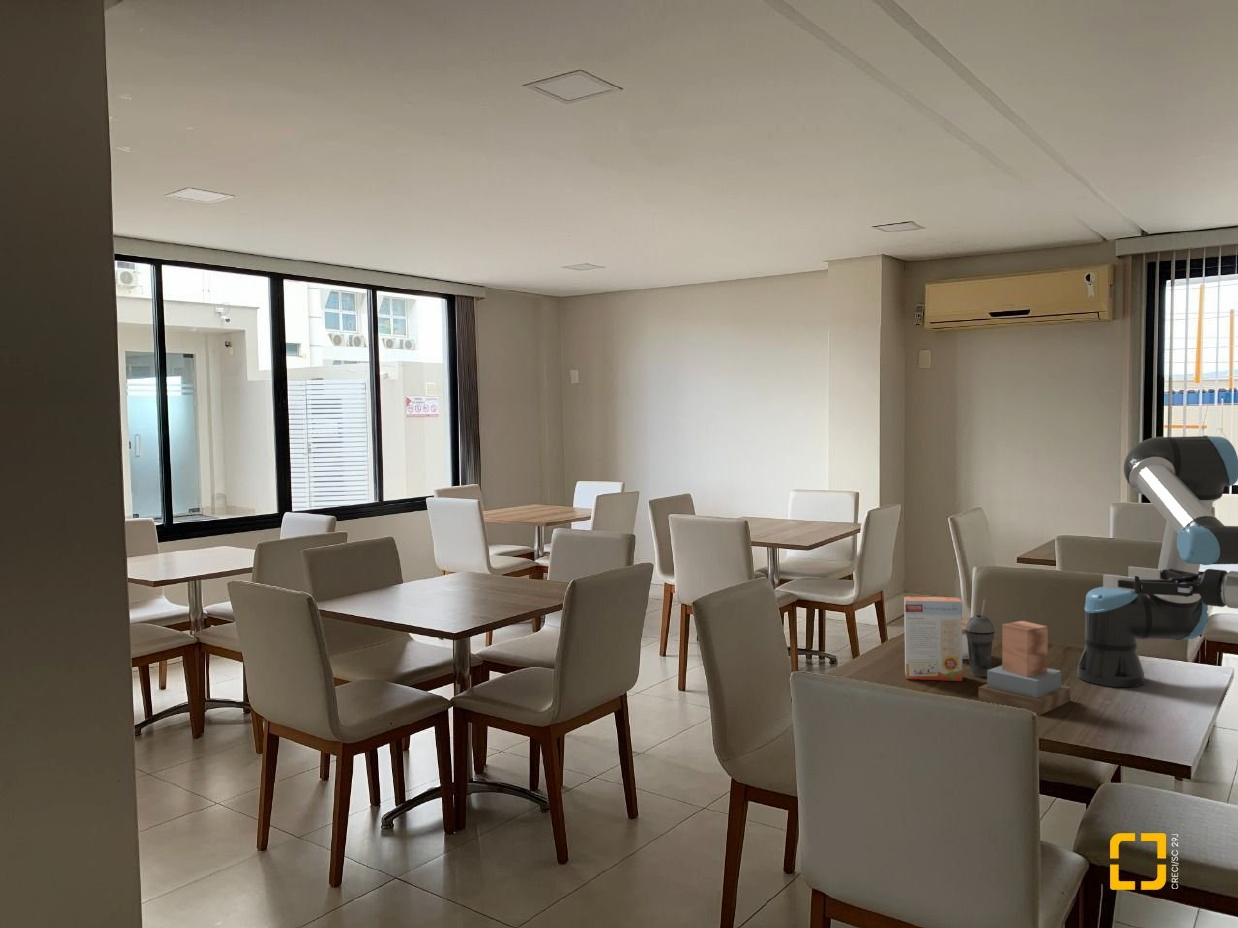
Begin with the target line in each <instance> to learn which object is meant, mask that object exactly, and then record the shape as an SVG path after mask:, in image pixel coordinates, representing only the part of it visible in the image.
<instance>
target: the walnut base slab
mask: <svg viewBox="0 0 1238 928" xmlns="http://www.w3.org/2000/svg"><path fill="white" fill-rule="evenodd" d="M979 700H981V701H980V702H982V701H986V702H992V703H996V704H1001V705H1007V706H1012V707H1017V708H1026V709H1028V710H1032V711H1033V712H1036V713H1037V714H1040V715H1039V716H1043V715H1044V714H1043V713H1045V714H1047V713H1049V712H1051V711H1053V710H1054V708H1055V709H1056V708H1059V707H1061V706H1063V705H1065V704H1067V703H1069V702H1070V701H1071V687H1070V686H1065V685H1061V688H1059V689H1056V690H1054V691H1052V692H1050V693H1048V694H1045V695H1043V696H1041V697H1039V698H1033V697H1028V696H1024V695H1020V694H1015V693H1011V692H1007V691H1002V690H998V689H993V688H989V687H987V683H986V684H983V685H981V686H978V701H979ZM986 702H985V703H986ZM1052 709H1053V710H1052ZM1050 710H1051V711H1050ZM1048 711H1049V712H1048ZM1046 712H1047V713H1046ZM1037 714H1036V715H1037ZM1042 714H1043V715H1042Z"/></svg>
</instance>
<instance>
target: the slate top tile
mask: <svg viewBox="0 0 1238 928" xmlns="http://www.w3.org/2000/svg"><path fill="white" fill-rule="evenodd" d="M986 684H987V687H989V688H993V689H998V690H1002V691H1007V692H1011V693H1015V694H1020V695H1024V696H1028V697H1033V698H1039V697H1041V696H1043V695H1045V694H1048V693H1050V692H1052V691H1054V690H1056V689H1059V688H1061V686H1062V670H1061V669H1060V670H1059V669H1054V668H1050V667H1048V668H1047V673H1043V674H1038V675H1033V676H1029V677H1026V676H1022V675H1019V674H1015V673H1012V672H1008V671H1005V670H1002V664H1001V665H998V666H995V667H993V668H990V670H988V671H987V677H986Z"/></svg>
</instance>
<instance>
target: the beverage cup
mask: <svg viewBox="0 0 1238 928" xmlns="http://www.w3.org/2000/svg"><path fill="white" fill-rule="evenodd" d="M985 607H986V598H984V599H983V601H982V607H981V609H982V610H981V615H979V614H978V615H974V616H971V617H970V618H969V619H967V620H968V622H967V624H966V629H965V631H966V637H967V641H968V652H969V659H968V662H969V669H970V670H969V672H970V675H971V676H973V677H977V678H987V671H988V670H990V669H991V660H992V649H993V641H994V637H995V633H996V632H995V627H994V624H993V622H992V620H990V619H989V618H988V617H986V615H985Z"/></svg>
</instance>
